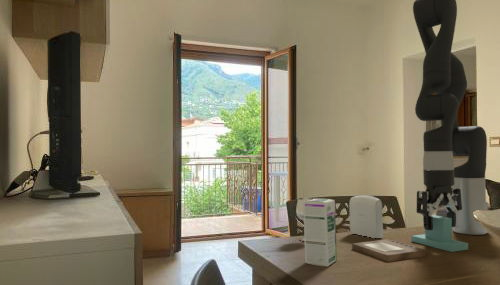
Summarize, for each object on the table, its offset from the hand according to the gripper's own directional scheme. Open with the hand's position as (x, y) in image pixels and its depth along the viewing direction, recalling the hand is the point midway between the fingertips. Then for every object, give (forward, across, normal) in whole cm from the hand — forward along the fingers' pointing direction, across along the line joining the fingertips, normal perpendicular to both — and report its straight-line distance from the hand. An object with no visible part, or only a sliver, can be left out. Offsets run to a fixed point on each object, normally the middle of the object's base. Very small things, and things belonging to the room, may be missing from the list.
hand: (440, 228), depth 106 cm
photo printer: (+5, +10, -18) cm, 21 cm away
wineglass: (+5, +29, -22) cm, 36 cm away
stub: (+5, 0, 0) cm, 5 cm away
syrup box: (+4, +38, -1) cm, 38 cm away
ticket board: (+5, +18, -1) cm, 18 cm away
